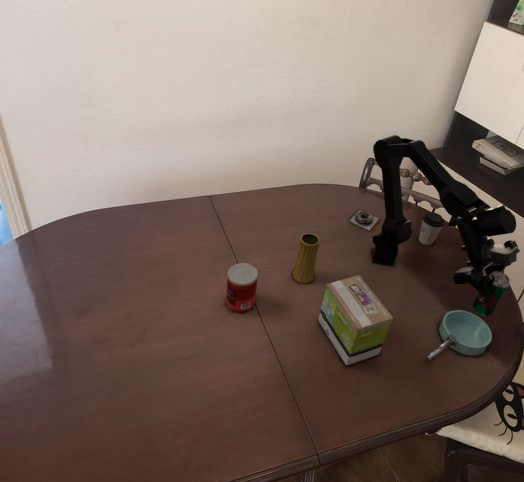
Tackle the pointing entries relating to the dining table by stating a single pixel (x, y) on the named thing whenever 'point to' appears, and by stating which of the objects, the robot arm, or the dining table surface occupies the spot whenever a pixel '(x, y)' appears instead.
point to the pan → (466, 332)
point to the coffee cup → (430, 228)
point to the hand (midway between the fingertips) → (496, 296)
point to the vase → (306, 258)
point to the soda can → (497, 287)
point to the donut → (364, 220)
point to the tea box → (354, 319)
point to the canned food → (241, 287)
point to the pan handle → (442, 347)
